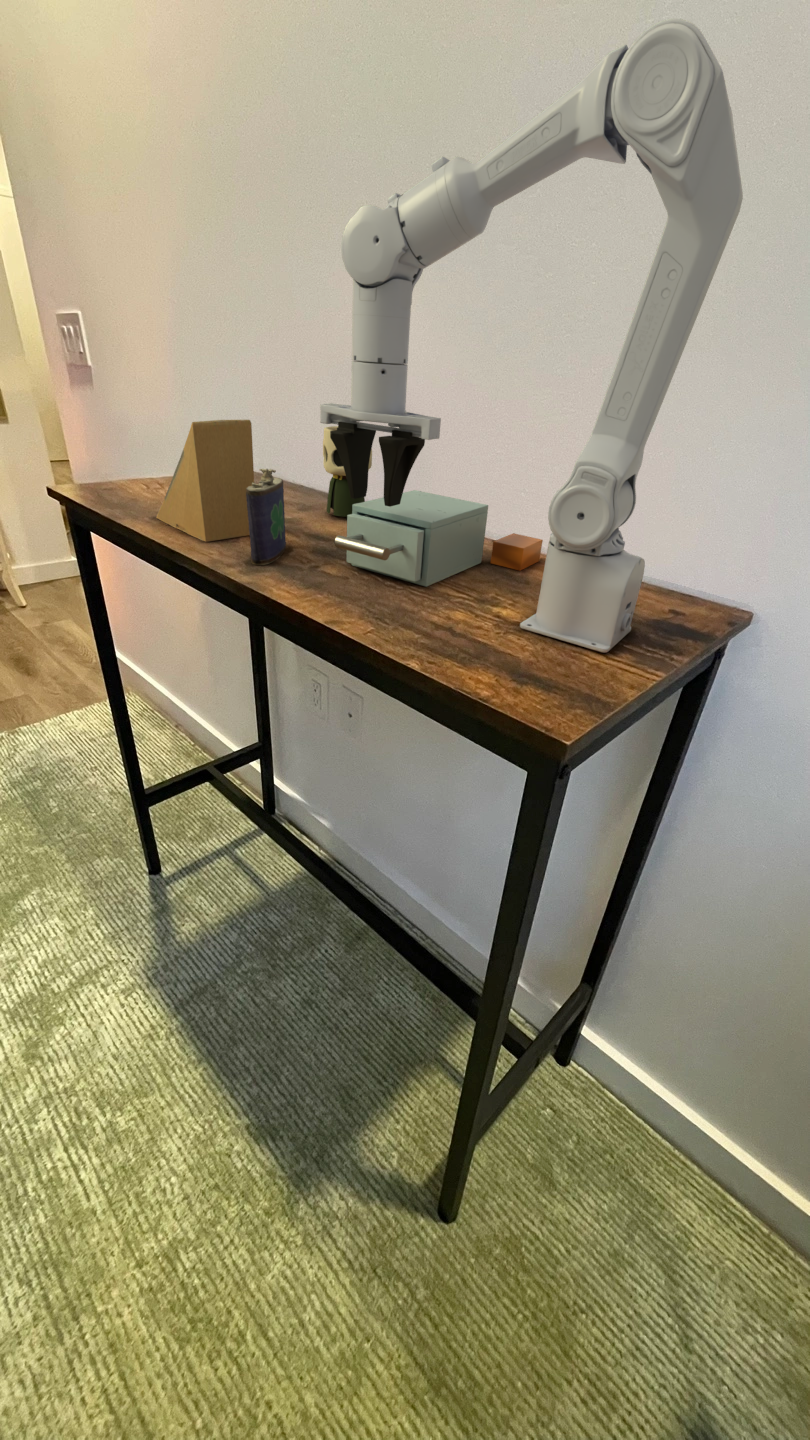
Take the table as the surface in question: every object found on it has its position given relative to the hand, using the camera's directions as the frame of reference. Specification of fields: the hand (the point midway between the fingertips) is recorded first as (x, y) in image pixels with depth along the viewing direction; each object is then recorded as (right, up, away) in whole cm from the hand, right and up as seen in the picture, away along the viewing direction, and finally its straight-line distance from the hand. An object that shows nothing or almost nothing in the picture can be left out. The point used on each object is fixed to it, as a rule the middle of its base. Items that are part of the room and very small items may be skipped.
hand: (375, 501), depth 71 cm
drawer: (+3, -5, +8) cm, 10 cm away
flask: (-14, -3, +12) cm, 19 cm away
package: (+18, -3, +15) cm, 24 cm away
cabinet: (+5, -4, +12) cm, 14 cm away
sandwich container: (-26, +4, +22) cm, 34 cm away
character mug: (-6, +9, +32) cm, 34 cm away
